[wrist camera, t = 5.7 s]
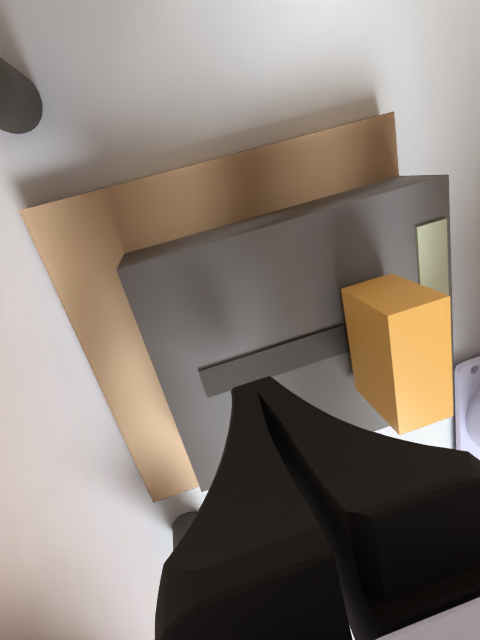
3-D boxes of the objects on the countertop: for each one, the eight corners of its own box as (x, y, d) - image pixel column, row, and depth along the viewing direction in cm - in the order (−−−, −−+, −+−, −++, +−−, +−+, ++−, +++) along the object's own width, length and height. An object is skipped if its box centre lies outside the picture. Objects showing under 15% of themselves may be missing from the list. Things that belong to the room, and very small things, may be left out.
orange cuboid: (391, 273, 14) (450, 296, 11) (400, 374, 15) (453, 416, 13) (341, 288, 14) (387, 316, 11) (355, 389, 15) (399, 435, 12)
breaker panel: (380, 115, 16) (448, 94, 12) (405, 400, 22) (457, 446, 18) (27, 208, 15) (-19, 218, 11) (153, 488, 20) (152, 557, 16)
